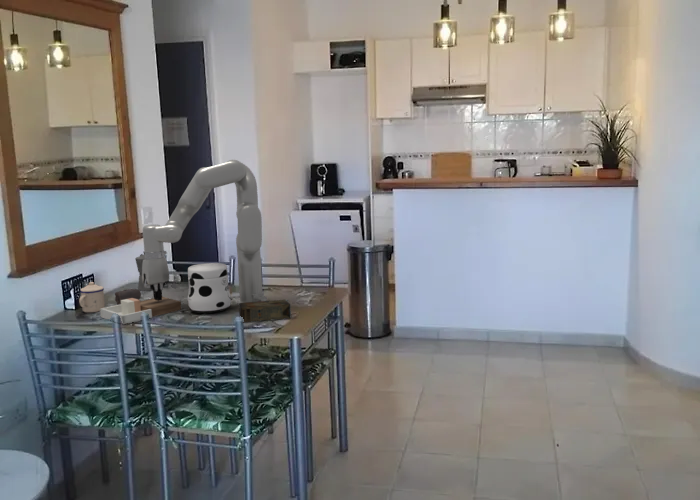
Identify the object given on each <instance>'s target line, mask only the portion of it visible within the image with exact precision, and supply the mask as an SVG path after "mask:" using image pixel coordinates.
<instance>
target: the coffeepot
mask: <svg viewBox="0 0 700 500" xmlns="http://www.w3.org/2000/svg"><path fill="white" fill-rule="evenodd" d="M143 260H145V253H144V251H143V253H141V254H139V256H137V257H135V263H136V268H137V272H138V273H139V274H138V275H139V276H138V285H137V289H138V290H139V291H140V292H141V291H142V292H145V291H146V292H147V291H148V292H150V291H153V290H152V289H150V288H145V287H144V284H145V283H143V281H142V264H143Z"/></svg>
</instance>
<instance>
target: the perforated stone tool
mask: <svg viewBox="0 0 700 500" xmlns="http://www.w3.org/2000/svg"><path fill="white" fill-rule="evenodd" d="M114 295H115V297H114V301H115V303H116V305H119V304H121V300H125V299H129V298H134V299H138V300H140V299H141V298H142V292H141V291H140V290H138V288H128V289H123V290H118V291H116V292H114Z"/></svg>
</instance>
